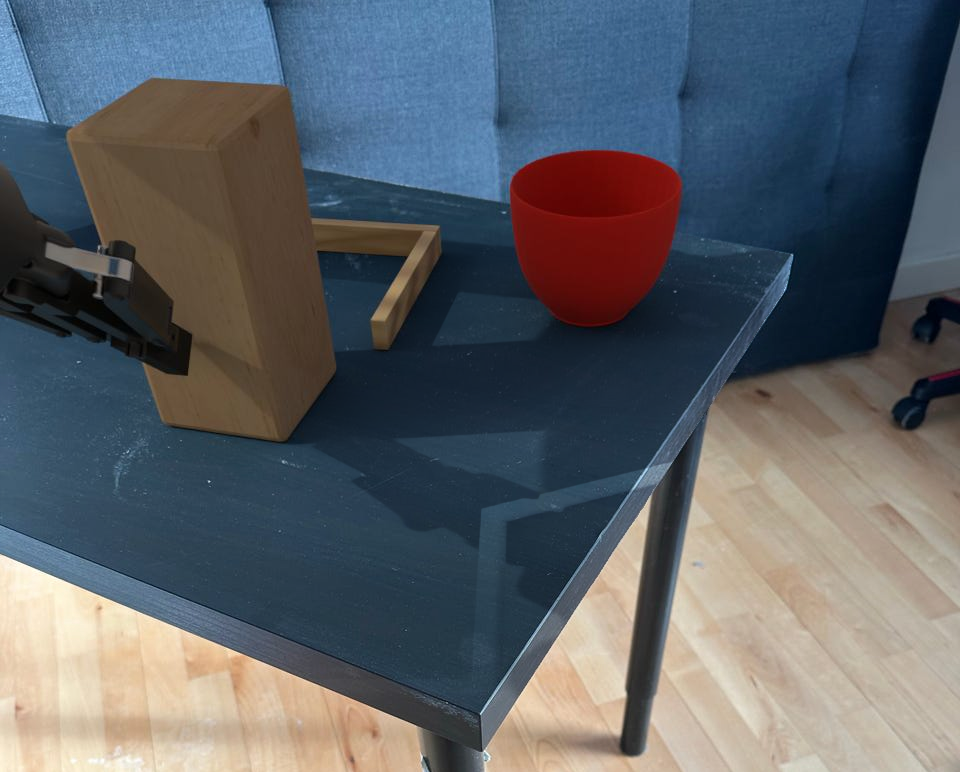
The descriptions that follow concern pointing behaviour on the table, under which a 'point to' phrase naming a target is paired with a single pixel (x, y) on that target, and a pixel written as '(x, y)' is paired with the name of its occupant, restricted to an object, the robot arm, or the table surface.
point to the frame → (386, 240)
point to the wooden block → (217, 245)
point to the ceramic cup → (593, 230)
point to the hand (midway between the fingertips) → (179, 354)
